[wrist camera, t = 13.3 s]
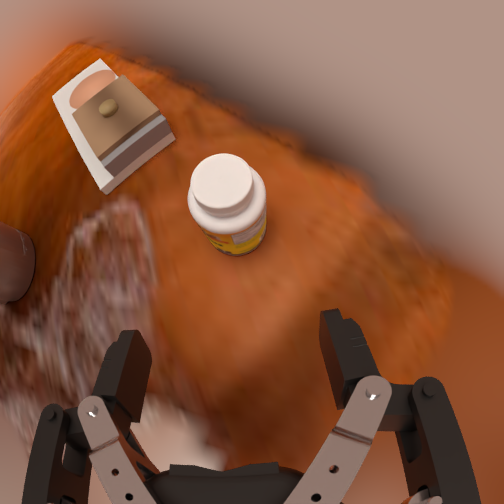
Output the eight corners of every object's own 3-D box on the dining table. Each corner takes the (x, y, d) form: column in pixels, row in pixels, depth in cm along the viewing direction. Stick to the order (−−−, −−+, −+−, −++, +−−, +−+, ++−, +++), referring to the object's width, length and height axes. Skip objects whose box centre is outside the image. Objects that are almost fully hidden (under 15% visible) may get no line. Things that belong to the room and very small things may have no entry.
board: (106, 195, 29) (89, 180, 26) (56, 101, 35) (44, 88, 31) (175, 139, 30) (165, 118, 27) (103, 64, 36) (94, 49, 32)
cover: (109, 171, 28) (92, 153, 24) (82, 126, 30) (67, 109, 26) (167, 126, 29) (156, 103, 25) (131, 89, 31) (120, 69, 27)
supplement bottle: (198, 218, 28) (165, 167, 18) (248, 192, 28) (239, 130, 18) (224, 268, 27) (199, 237, 17) (277, 239, 27) (282, 193, 17)
